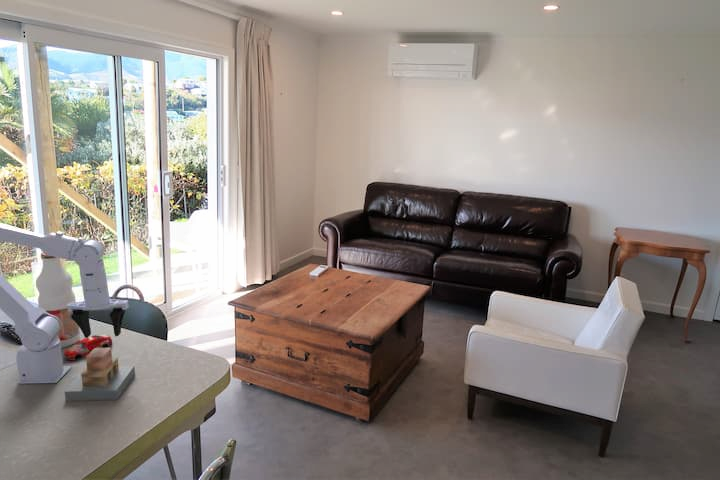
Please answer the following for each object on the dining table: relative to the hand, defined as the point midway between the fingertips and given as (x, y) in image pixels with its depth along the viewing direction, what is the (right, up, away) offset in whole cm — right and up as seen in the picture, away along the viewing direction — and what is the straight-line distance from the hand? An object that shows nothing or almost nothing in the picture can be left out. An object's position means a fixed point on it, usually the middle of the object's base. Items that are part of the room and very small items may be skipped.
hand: (103, 335), depth 129 cm
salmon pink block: (+3, -6, -6) cm, 9 cm away
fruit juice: (-22, -6, +18) cm, 29 cm away
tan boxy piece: (+2, -10, -6) cm, 11 cm away
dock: (+2, -12, -5) cm, 13 cm away
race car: (-11, -8, +13) cm, 19 cm away
